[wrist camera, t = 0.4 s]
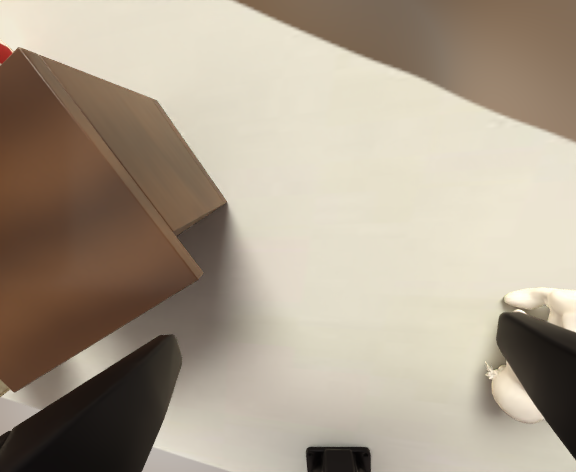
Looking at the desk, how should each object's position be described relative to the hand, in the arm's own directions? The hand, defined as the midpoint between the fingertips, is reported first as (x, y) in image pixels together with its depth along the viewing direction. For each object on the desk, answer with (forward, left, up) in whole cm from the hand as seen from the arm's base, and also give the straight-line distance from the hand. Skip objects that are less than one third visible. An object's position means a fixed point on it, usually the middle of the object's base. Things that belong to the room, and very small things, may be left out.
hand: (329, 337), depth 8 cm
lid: (+2, +14, -6) cm, 16 cm away
